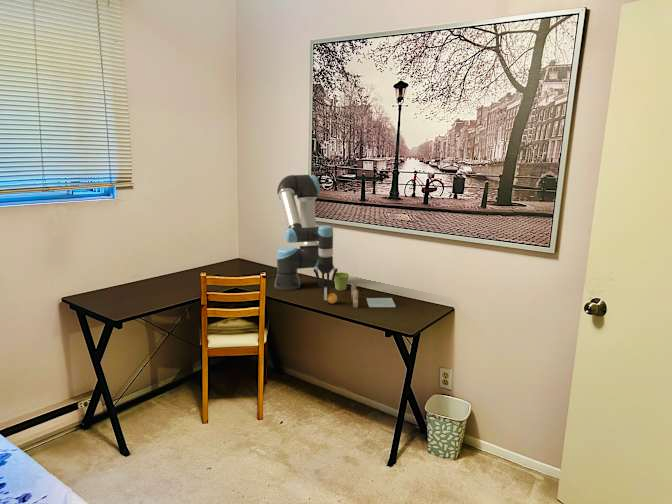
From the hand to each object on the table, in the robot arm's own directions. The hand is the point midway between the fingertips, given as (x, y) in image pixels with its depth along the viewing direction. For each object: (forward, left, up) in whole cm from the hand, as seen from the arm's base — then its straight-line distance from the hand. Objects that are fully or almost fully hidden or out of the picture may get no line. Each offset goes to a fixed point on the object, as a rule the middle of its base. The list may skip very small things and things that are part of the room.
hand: (325, 299), depth 261 cm
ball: (-1, +3, 0) cm, 4 cm away
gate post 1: (-7, +15, -2) cm, 17 cm away
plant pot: (-25, +9, -3) cm, 27 cm away
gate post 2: (+6, +15, -2) cm, 17 cm away
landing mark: (-1, +29, -2) cm, 29 cm away
